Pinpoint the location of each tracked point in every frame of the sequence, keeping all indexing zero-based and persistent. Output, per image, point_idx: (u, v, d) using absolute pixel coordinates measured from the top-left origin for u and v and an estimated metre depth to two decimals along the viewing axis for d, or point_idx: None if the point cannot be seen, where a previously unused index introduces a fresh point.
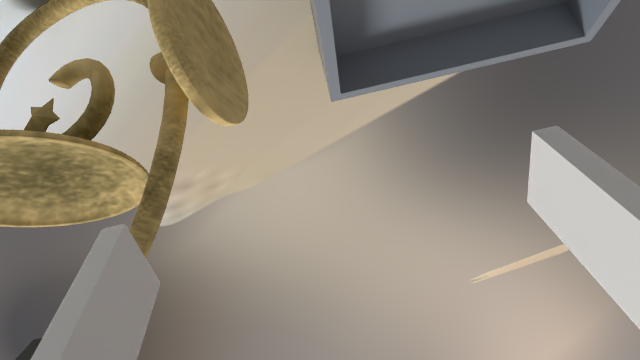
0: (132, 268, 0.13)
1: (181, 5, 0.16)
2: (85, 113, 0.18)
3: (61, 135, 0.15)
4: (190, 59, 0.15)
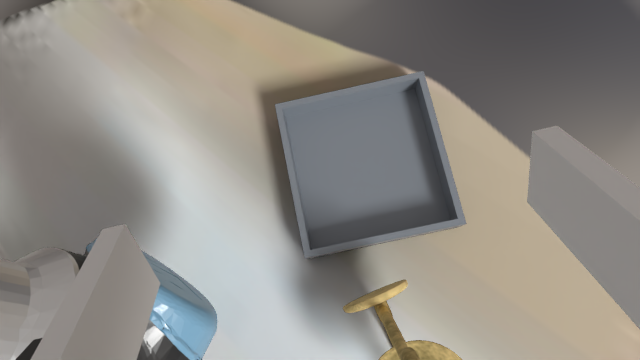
0: (132, 268, 0.13)
1: (355, 301, 0.41)
2: None
3: None
4: (358, 302, 0.39)
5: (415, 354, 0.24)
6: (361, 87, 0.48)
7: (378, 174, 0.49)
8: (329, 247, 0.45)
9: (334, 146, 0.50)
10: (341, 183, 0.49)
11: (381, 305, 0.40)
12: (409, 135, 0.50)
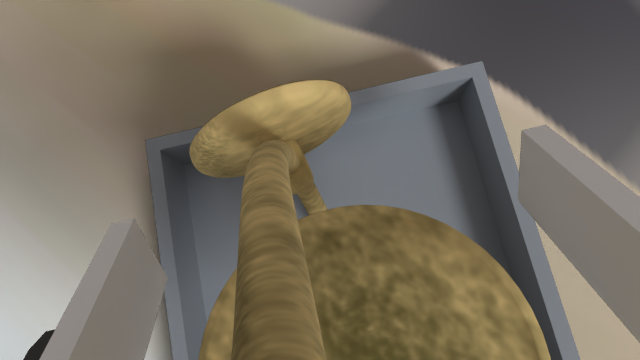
0: (141, 262, 0.13)
1: None
2: None
3: (237, 275, 0.12)
4: None
5: None
6: None
7: None
8: None
9: None
10: None
11: None
12: (448, 204, 0.23)
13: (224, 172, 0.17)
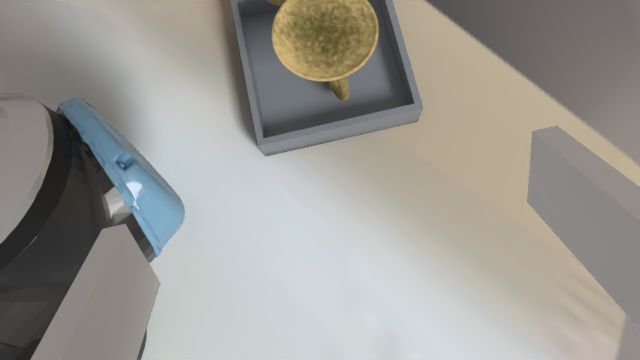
0: (132, 268, 0.13)
1: None
2: None
3: None
4: None
5: None
6: None
7: None
8: (283, 135, 0.44)
9: None
10: (299, 80, 0.48)
11: None
12: None
13: None
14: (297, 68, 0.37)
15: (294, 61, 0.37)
